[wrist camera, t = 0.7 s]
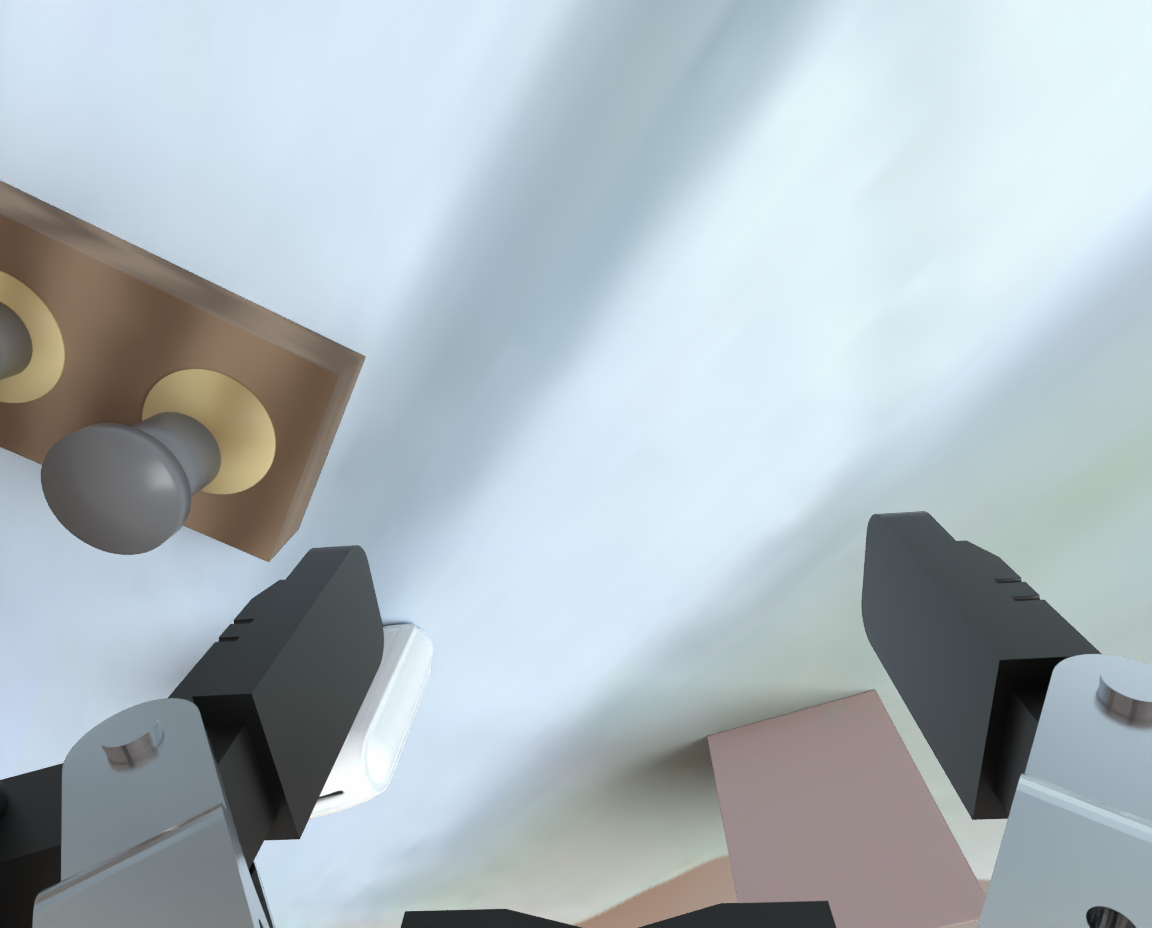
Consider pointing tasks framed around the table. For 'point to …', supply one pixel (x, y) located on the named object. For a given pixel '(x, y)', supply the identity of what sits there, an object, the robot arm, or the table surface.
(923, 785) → the greeting card
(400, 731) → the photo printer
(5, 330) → the middle knob
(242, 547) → the mount board
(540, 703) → the table surface
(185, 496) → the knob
